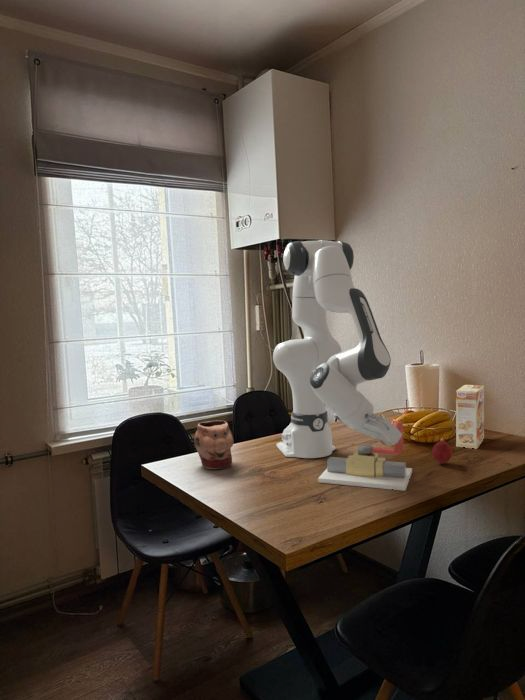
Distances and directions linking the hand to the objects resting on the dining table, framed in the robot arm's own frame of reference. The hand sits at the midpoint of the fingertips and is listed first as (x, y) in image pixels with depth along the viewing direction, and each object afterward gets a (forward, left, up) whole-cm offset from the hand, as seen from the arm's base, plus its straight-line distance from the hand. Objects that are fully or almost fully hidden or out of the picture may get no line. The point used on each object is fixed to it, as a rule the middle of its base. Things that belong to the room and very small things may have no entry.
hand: (387, 443), depth 144 cm
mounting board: (-7, -2, -11) cm, 14 cm away
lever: (-4, 0, -4) cm, 6 cm away
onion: (-6, +25, -12) cm, 28 cm away
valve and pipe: (-7, -2, -11) cm, 14 cm away
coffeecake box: (-20, +50, -12) cm, 55 cm away
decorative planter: (-41, -37, -12) cm, 57 cm away
